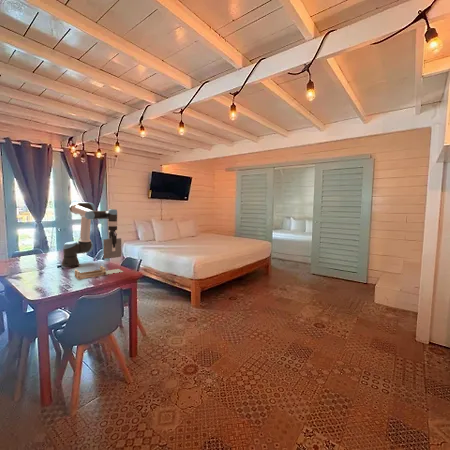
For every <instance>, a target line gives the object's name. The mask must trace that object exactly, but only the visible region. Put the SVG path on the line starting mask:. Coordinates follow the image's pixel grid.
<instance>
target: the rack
mask: <svg viewBox="0 0 450 450" xmlns="http://www.w3.org/2000/svg"><path fill="white" fill-rule="evenodd" d="M106 268H107V267H104V266H103V265H100V266H99V269H97V270H91V271H90V270H89V271H84V272H83V271H79V270H78V269H74V277H75V278H76V279H77V280H82V279H88V278H94V277H100V276H105V275H106V271H107V269H106Z"/></svg>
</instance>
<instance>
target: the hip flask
mask: <svg viewBox="0 0 450 450" xmlns="http://www.w3.org/2000/svg"><path fill="white" fill-rule="evenodd" d="M102 242H103V243H102V244H103V259H104V260H106V259H114V258H121V257H122V238H121V237H118V238H117V241H116V244H115V251H112V237H111V239H109V238H105V239H103V241H102Z"/></svg>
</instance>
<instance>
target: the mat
mask: <svg viewBox="0 0 450 450" xmlns="http://www.w3.org/2000/svg"><path fill="white" fill-rule="evenodd" d="M119 272H120V273H124V271H123V270H121V269H120V268H115V269H114V268H113V269H109V270H106V275H108V274H109V275H114V274H113V273H115V274H119Z"/></svg>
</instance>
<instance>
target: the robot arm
mask: <svg viewBox="0 0 450 450" xmlns="http://www.w3.org/2000/svg"><path fill="white" fill-rule="evenodd" d="M69 211H70V212H71V213H72V214H75V215H79V216H80V219H81V220H80V221H81V222H80V238H79V239H78V241H76V240H75V241H74V240H73V241H67V242H65V243H64V244H63V247H62V248H63V249H62V250H63V251H62V252H63V258H62V261H61V266H62V267H65V266H68V267H74V266H79V265H80V261H79V258H78V254H87V253H91V252H92V251H93V249H94V243H93V241H92V239H91V238H90V236H91V221H92V220H107V221H108V222H107V224H108V226H107V229H108V231H109V232H108V239H111V237H112V251H115V244H116V241H117V237H118V236H117V235H118V234H117V233H118V232H116V231H118V210H117V209H113V208H112V209H111V208H109V209H108V210H96V206H95V204H94V203H92V202H87V201H86V202H85V201H81V202H80V201H76V202H75V201H74V202H72V203H71V204H70V205H69Z"/></svg>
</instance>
